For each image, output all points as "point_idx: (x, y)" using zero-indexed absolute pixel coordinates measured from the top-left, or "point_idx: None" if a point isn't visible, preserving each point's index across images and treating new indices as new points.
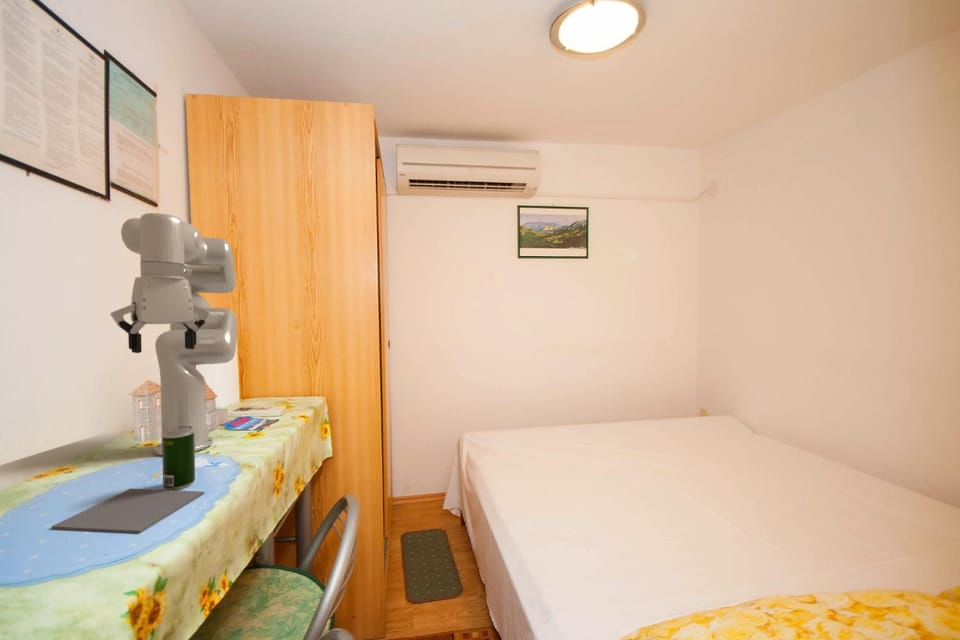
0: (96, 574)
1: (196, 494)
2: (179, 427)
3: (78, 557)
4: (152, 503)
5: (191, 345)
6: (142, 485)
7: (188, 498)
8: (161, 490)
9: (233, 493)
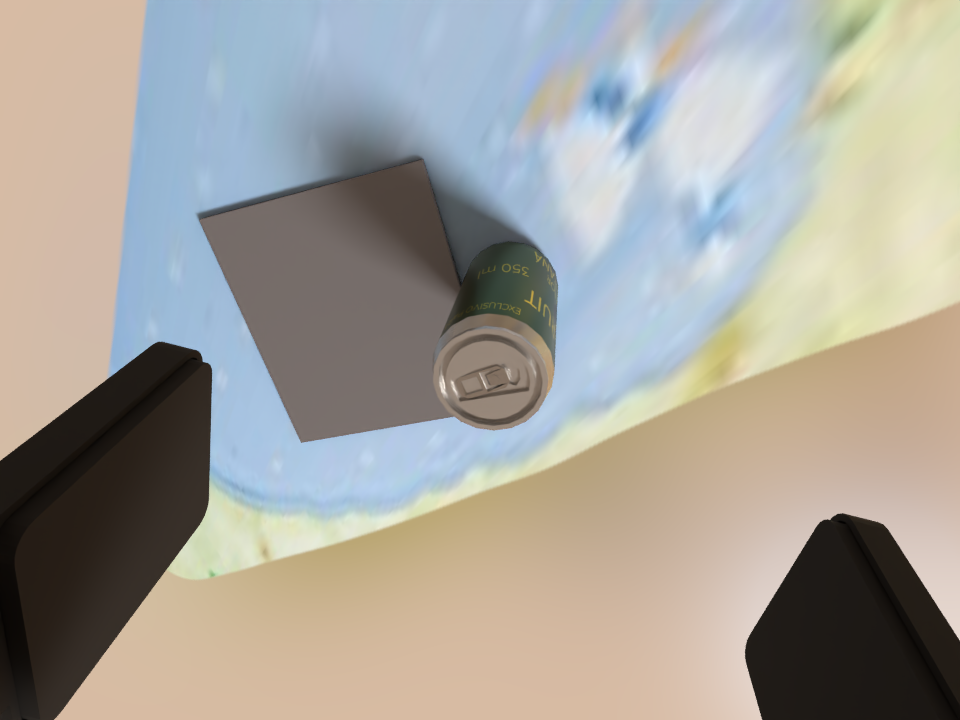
0: None
1: None
2: (515, 354)
3: None
4: (389, 340)
5: (759, 692)
6: (466, 152)
7: None
8: (453, 281)
9: (526, 474)
